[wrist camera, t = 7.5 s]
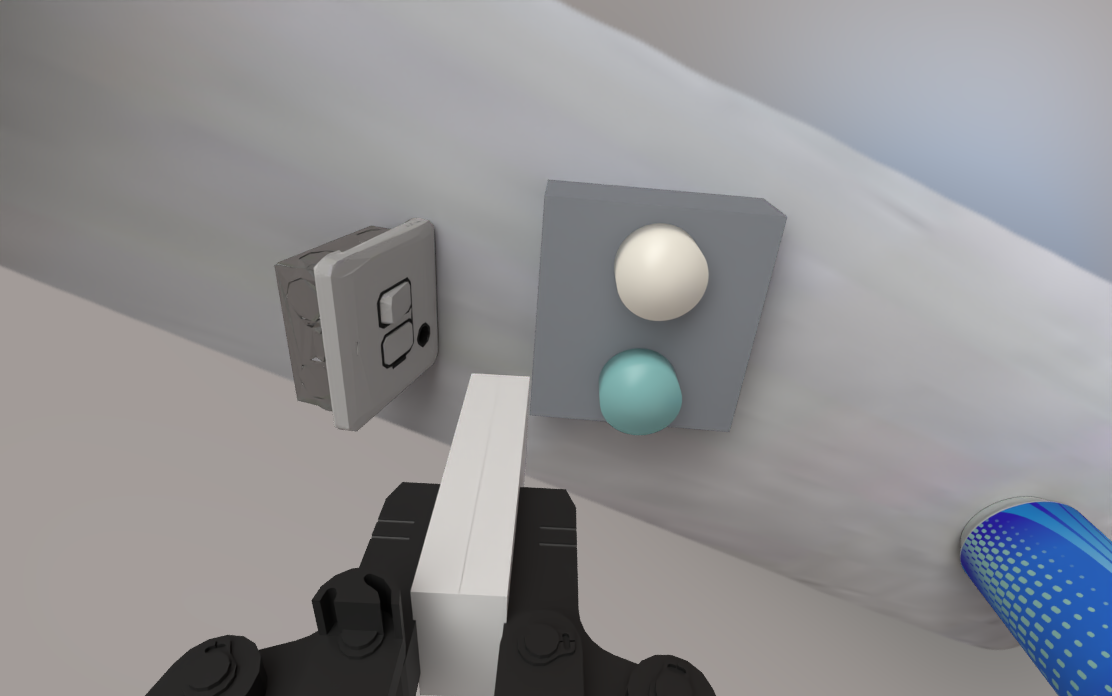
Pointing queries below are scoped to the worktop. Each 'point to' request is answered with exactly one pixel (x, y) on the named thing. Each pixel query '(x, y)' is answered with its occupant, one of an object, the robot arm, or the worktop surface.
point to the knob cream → (660, 272)
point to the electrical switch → (361, 318)
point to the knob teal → (639, 392)
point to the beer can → (1047, 587)
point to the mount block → (610, 327)
